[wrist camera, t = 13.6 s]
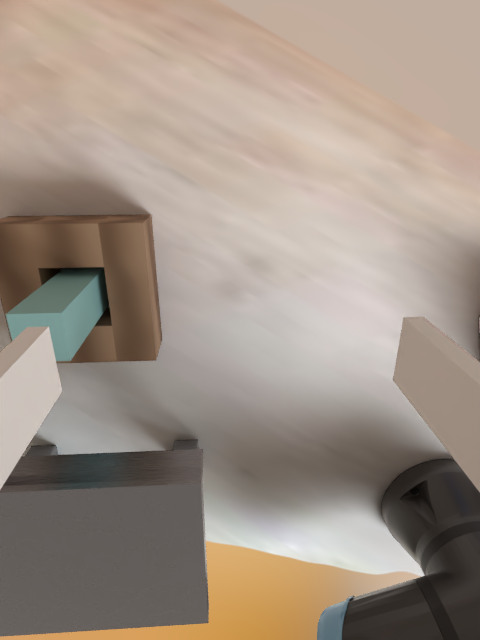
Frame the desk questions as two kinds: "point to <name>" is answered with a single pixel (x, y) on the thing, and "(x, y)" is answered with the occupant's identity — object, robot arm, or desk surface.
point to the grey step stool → (103, 541)
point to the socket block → (90, 251)
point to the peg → (64, 308)
